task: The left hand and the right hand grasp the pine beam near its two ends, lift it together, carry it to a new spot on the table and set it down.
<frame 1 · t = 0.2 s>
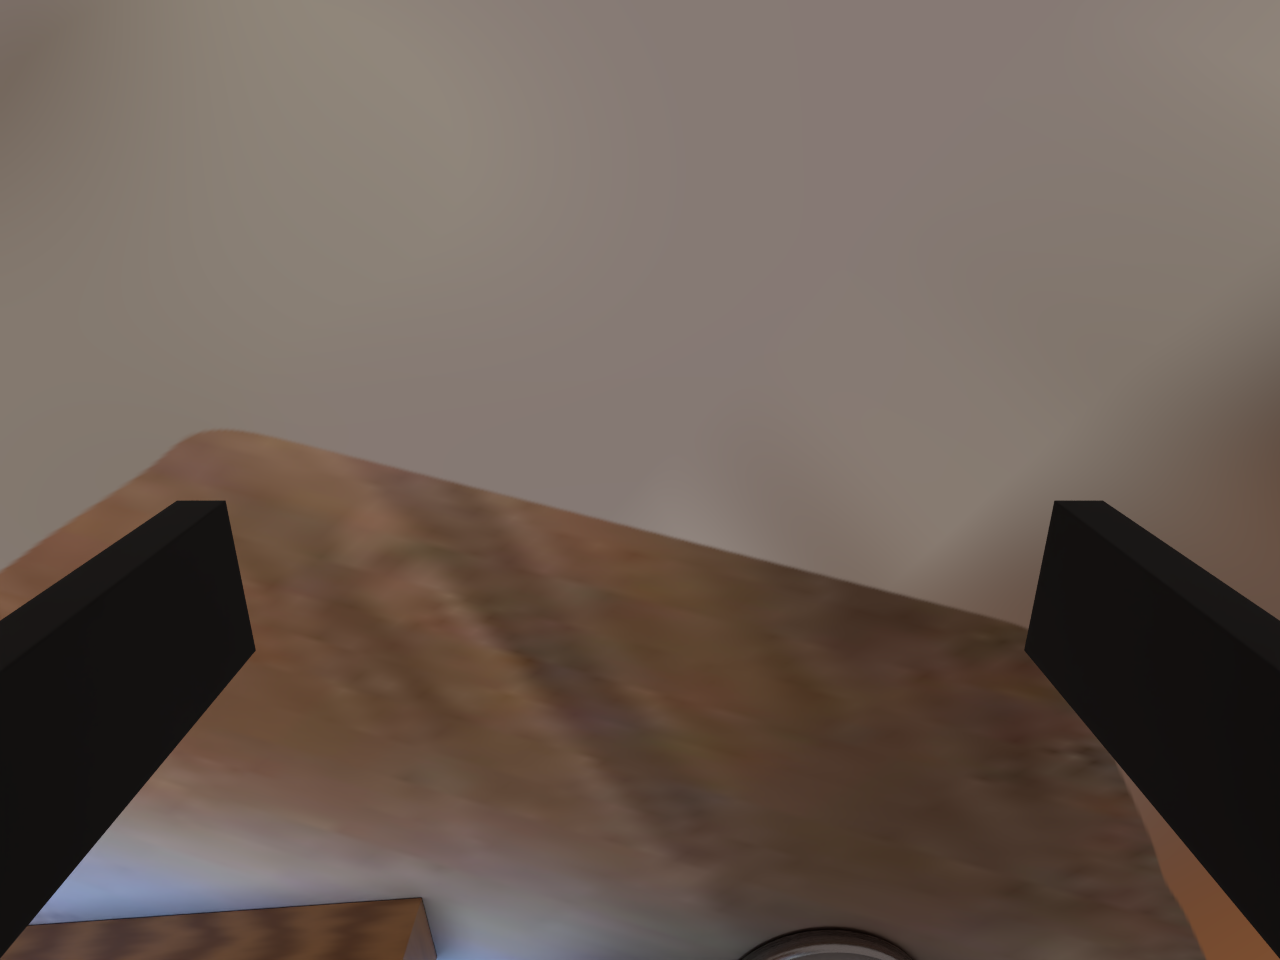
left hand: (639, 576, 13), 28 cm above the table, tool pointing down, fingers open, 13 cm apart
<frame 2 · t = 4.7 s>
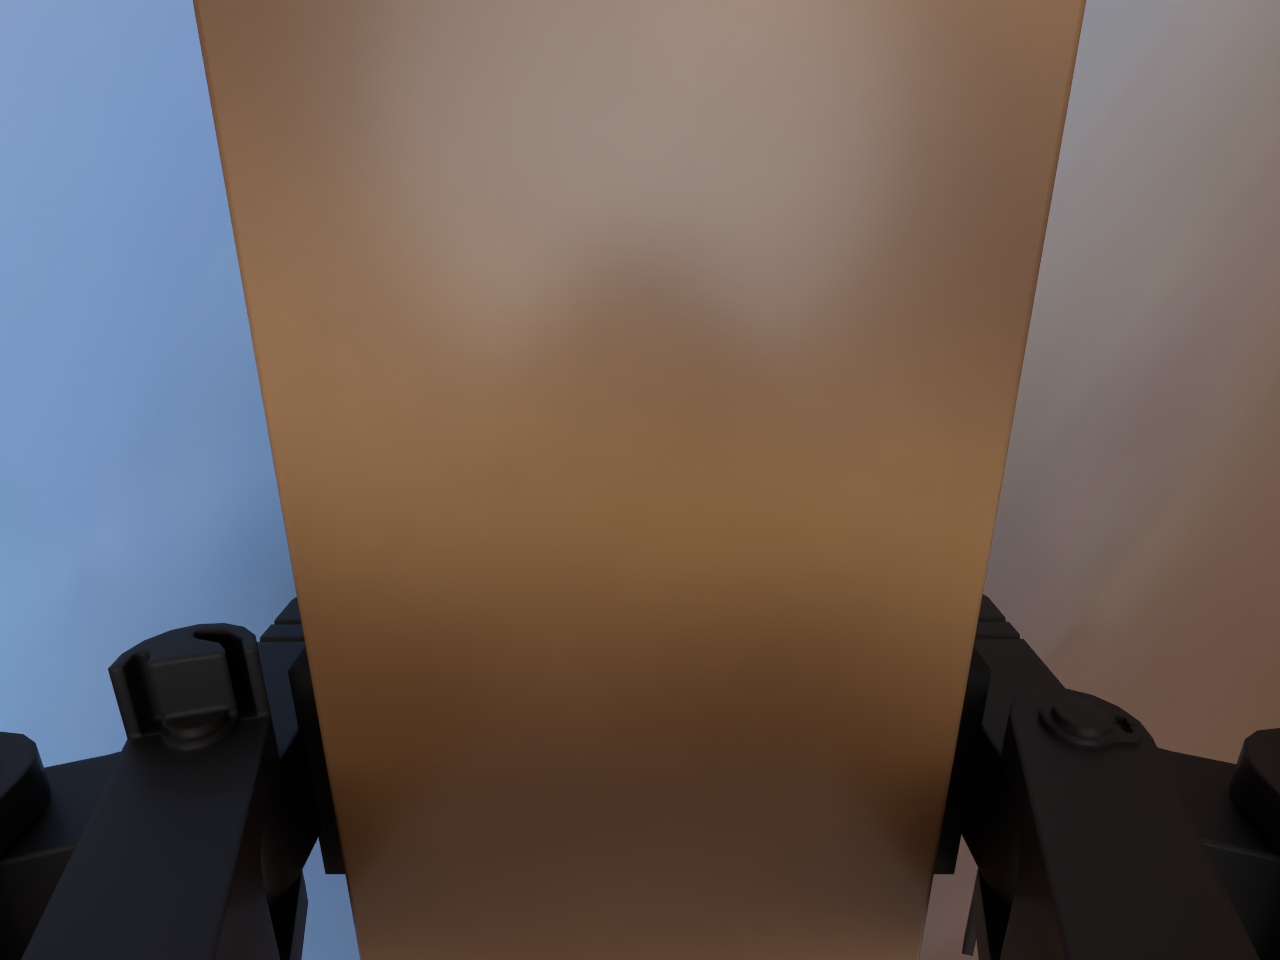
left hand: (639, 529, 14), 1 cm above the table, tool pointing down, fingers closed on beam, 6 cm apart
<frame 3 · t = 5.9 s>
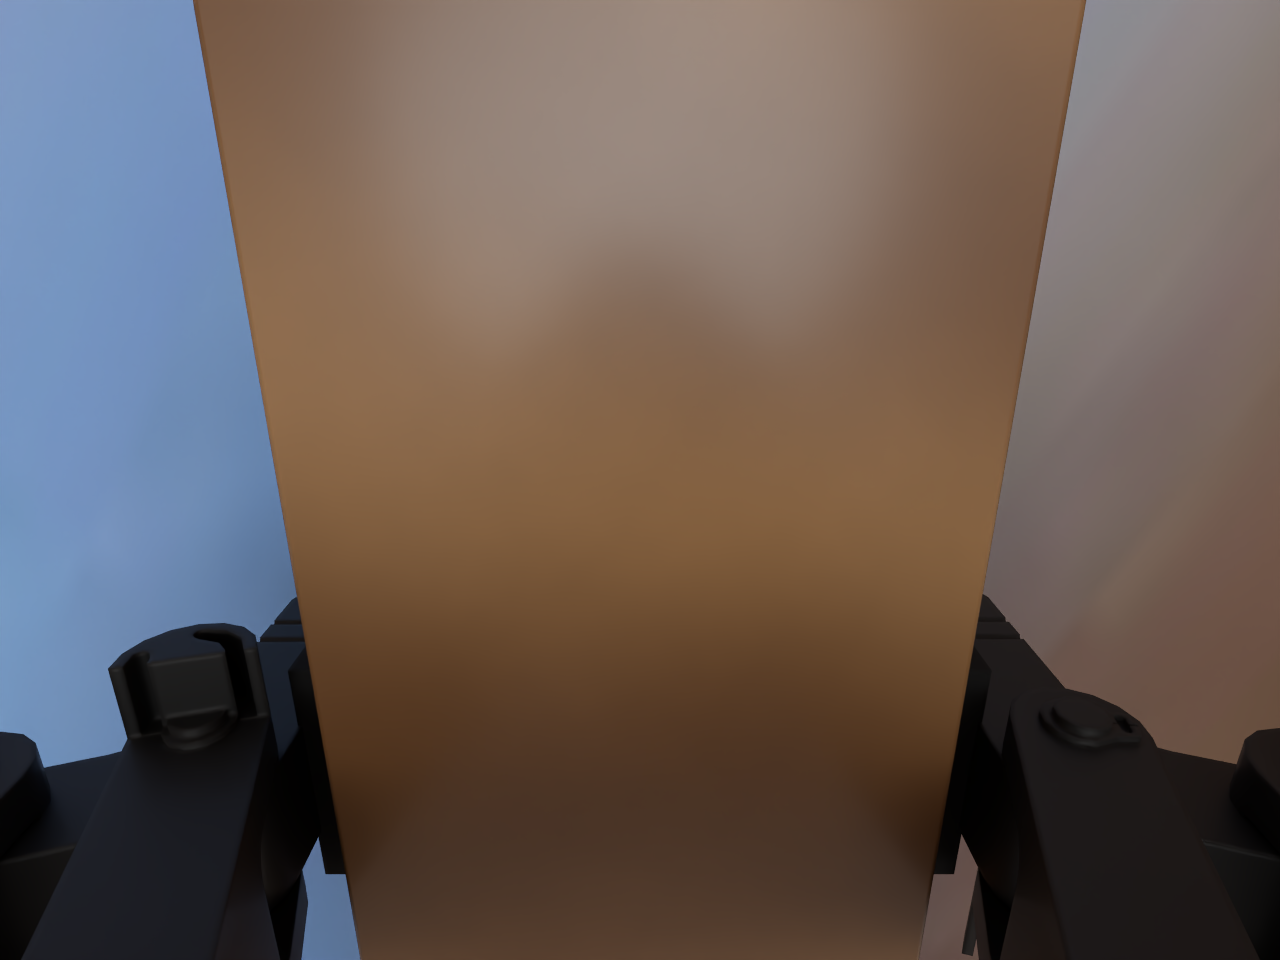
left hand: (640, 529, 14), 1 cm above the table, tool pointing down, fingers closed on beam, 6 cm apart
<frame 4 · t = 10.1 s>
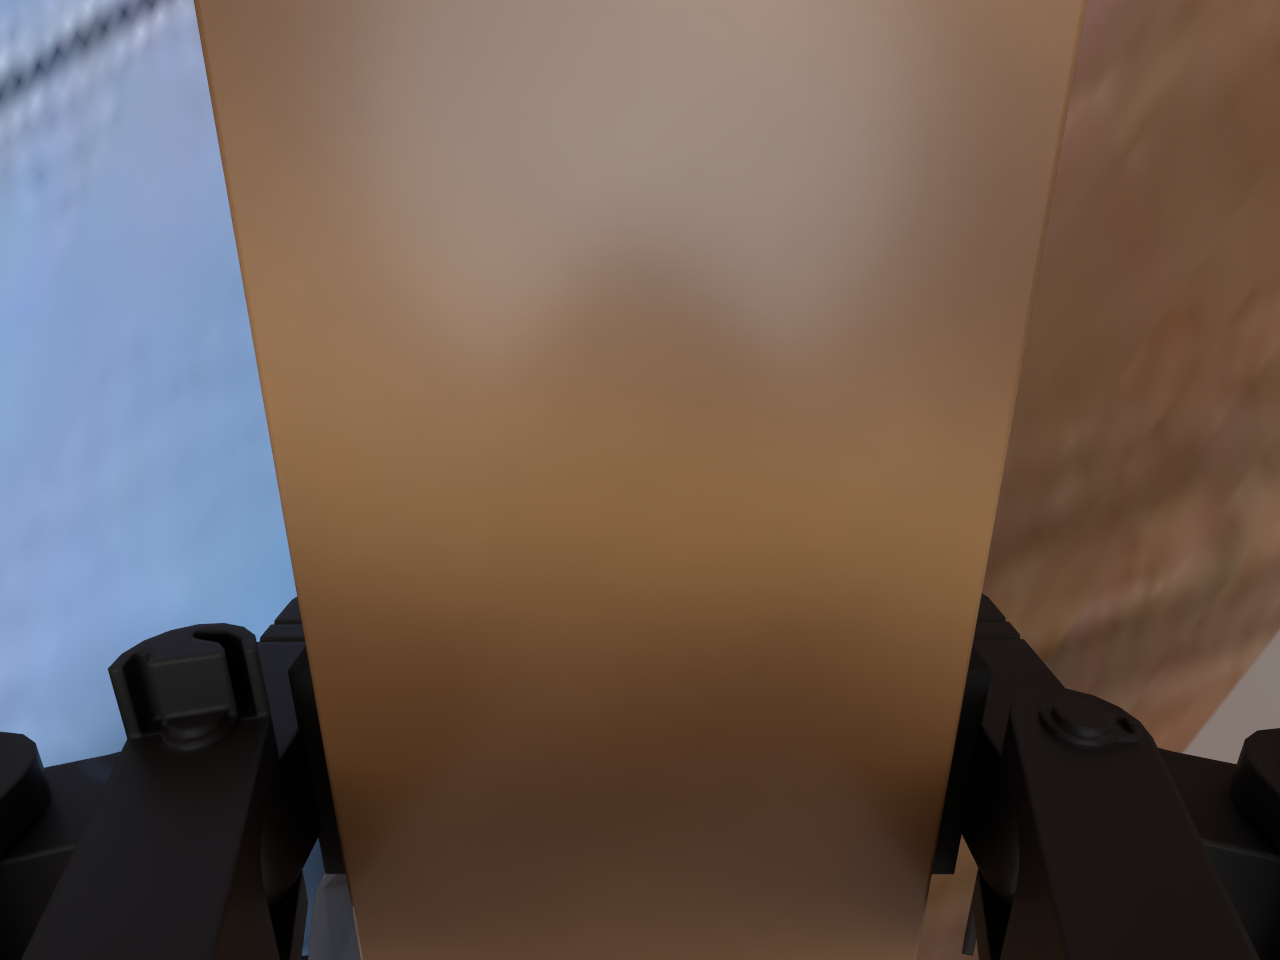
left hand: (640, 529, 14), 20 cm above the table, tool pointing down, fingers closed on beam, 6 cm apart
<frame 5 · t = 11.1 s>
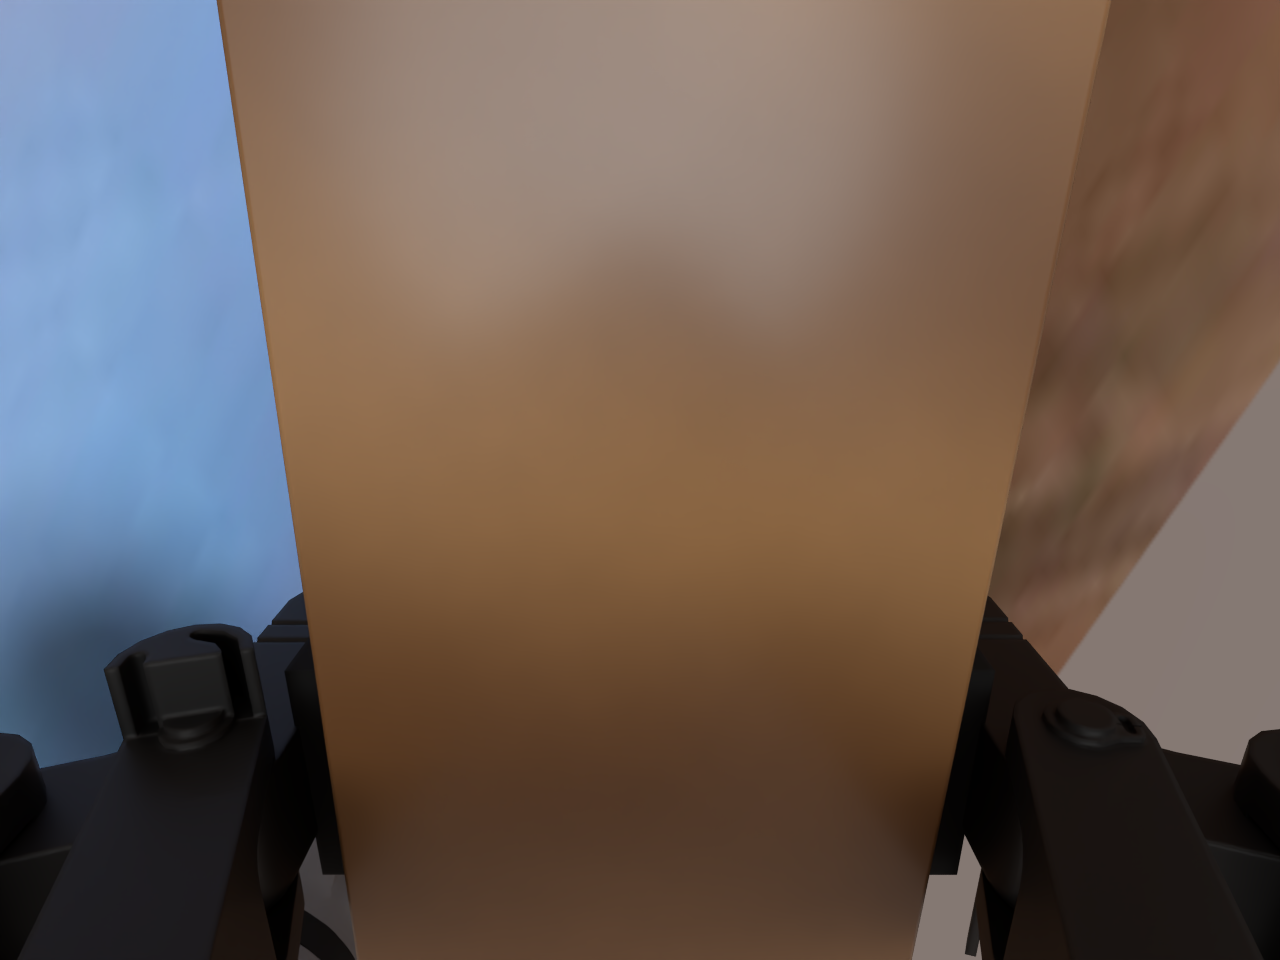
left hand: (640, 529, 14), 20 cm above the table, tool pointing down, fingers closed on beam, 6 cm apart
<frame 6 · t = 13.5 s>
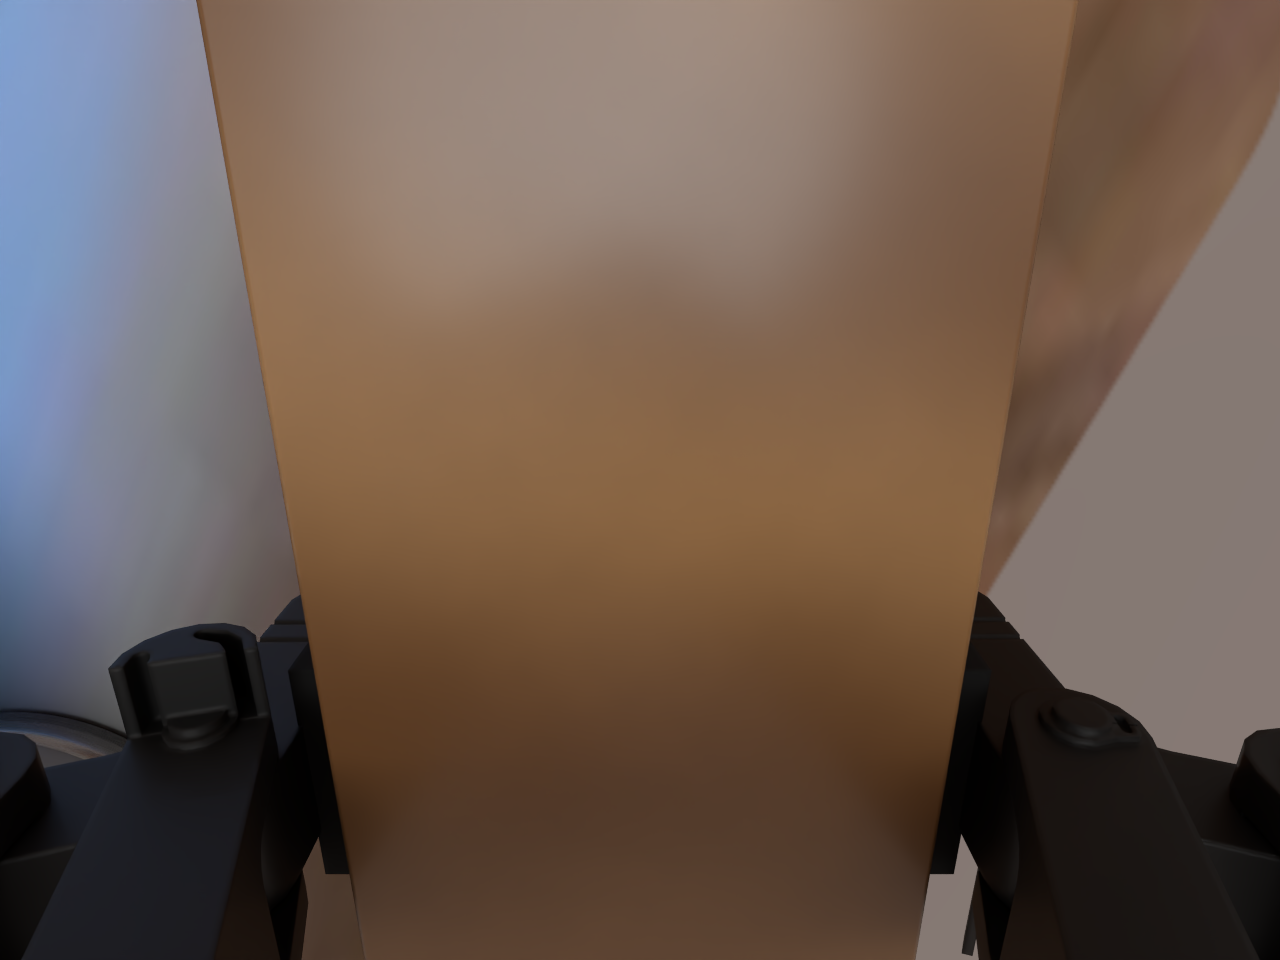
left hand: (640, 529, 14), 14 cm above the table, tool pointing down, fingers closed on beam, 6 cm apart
when the left hand's fingers open (2 cm above the table, at t = 15.5 s): beam stays where it is, held by the right hand.
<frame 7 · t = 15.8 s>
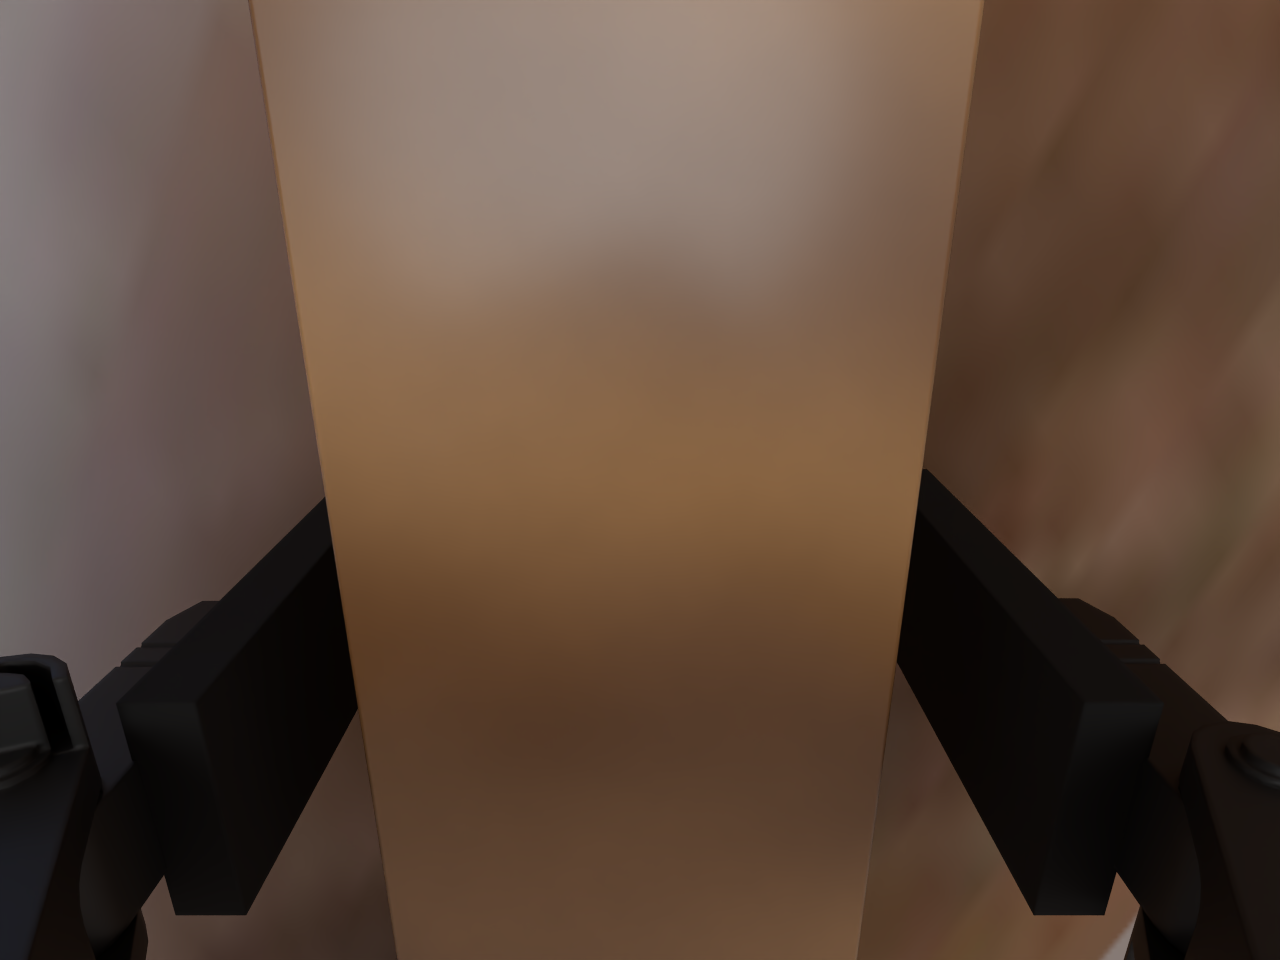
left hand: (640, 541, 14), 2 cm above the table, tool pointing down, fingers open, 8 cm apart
when the right hand's fingers open (4 cm above the table, at t = 15.8 s): beam stays where it is, on the table.
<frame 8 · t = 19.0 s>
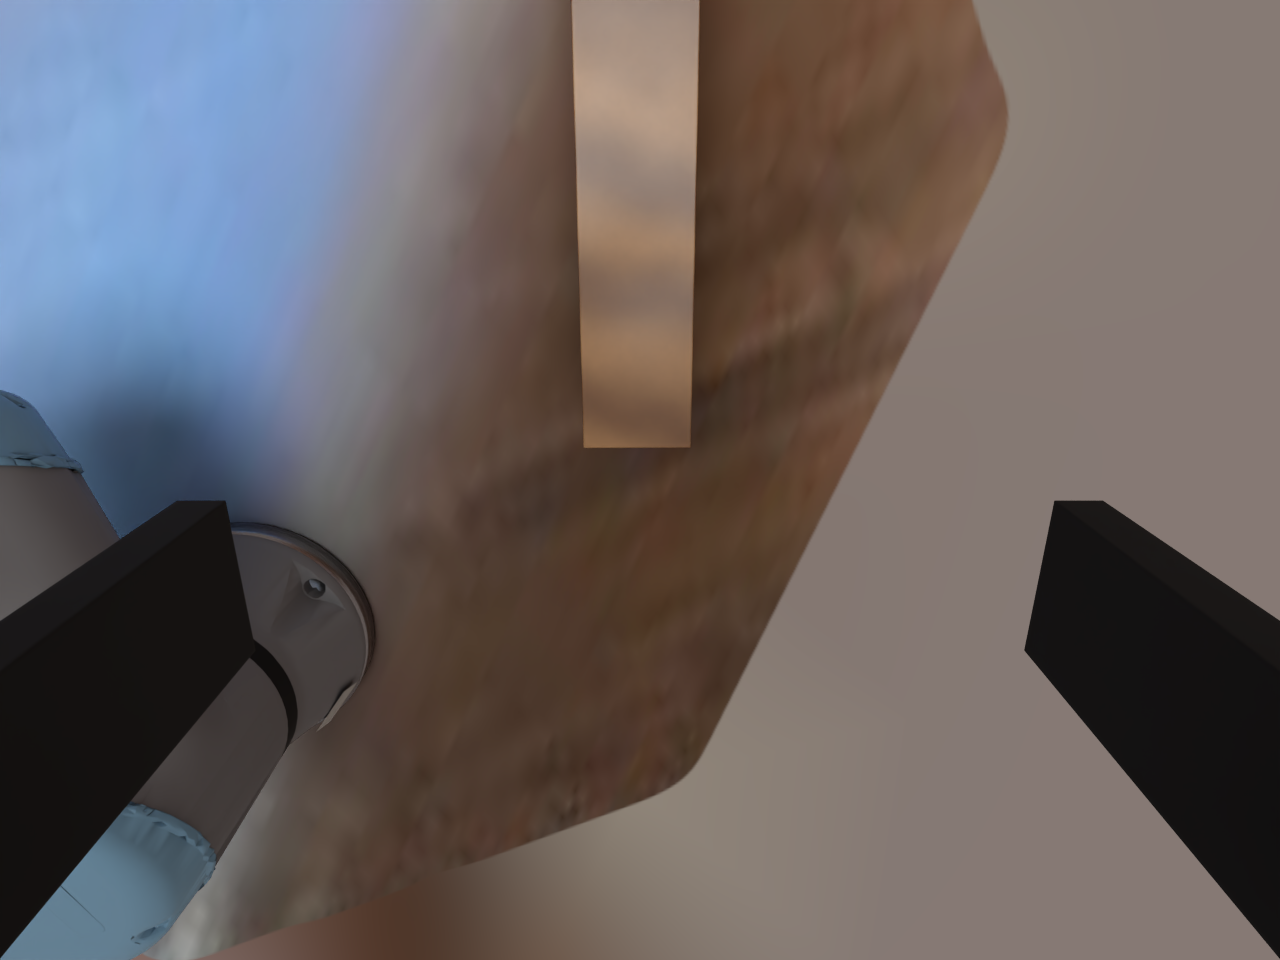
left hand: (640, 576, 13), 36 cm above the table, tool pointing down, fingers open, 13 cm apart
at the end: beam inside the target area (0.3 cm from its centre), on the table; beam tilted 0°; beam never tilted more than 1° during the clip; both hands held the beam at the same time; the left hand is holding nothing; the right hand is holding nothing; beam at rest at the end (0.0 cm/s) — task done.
